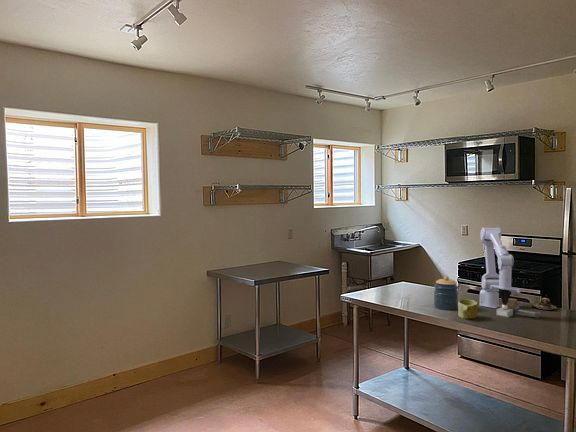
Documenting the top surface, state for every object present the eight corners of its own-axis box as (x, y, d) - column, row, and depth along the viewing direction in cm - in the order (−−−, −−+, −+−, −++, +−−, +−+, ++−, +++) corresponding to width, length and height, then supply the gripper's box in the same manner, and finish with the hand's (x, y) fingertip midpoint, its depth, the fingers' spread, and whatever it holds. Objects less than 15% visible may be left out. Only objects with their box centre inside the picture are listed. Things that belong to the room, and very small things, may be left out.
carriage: (504, 312, 241) (505, 299, 241) (509, 310, 245) (509, 297, 245) (514, 314, 238) (514, 301, 237) (519, 311, 242) (519, 299, 241)
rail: (501, 311, 243) (501, 307, 243) (505, 310, 247) (505, 305, 246) (537, 318, 230) (537, 313, 230) (541, 316, 233) (541, 311, 233)
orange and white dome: (501, 308, 237) (501, 304, 236) (503, 307, 238) (503, 303, 238) (506, 309, 235) (506, 305, 235) (508, 308, 236) (508, 304, 236)
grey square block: (496, 315, 237) (496, 309, 237) (501, 313, 241) (501, 307, 241) (508, 317, 232) (508, 311, 232) (512, 315, 236) (513, 309, 236)
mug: (459, 309, 242) (463, 293, 238) (477, 318, 236) (483, 302, 232) (449, 318, 233) (454, 302, 229) (468, 327, 227) (474, 311, 223)
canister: (460, 310, 246) (460, 278, 245) (435, 309, 248) (435, 277, 248) (456, 305, 258) (456, 274, 258) (432, 304, 261) (432, 273, 260)
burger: (527, 307, 254) (527, 294, 253) (542, 305, 258) (543, 292, 257) (546, 312, 242) (546, 298, 242) (562, 310, 247) (562, 296, 246)
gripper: (487, 277, 238) (487, 303, 239) (516, 281, 228) (516, 308, 228) (493, 275, 243) (493, 301, 244) (522, 279, 232) (521, 305, 233)
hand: (504, 304), depth 236 cm, fingers closed, pressing on orange and white dome
